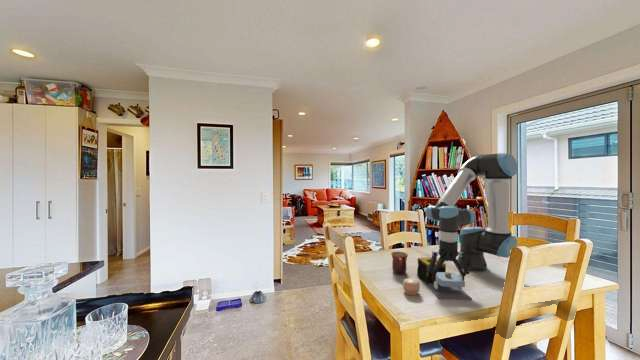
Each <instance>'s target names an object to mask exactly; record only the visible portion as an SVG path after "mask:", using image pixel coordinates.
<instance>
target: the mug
mask: <svg viewBox="0 0 640 360" xmlns="http://www.w3.org/2000/svg"><path fill="white" fill-rule="evenodd" d="M390 254H391V258H392V264H391V265H392V267H391V268H392V272H393V273H394V274H396V275H405V274H406V273H407V260H408V256H409V254H408V253H407V252H404V251H391V253H390Z"/></svg>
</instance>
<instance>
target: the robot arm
mask: <svg viewBox="0 0 640 360" xmlns="http://www.w3.org/2000/svg"><path fill="white" fill-rule="evenodd" d="M517 171H518V162H517V160H516V158H515V157H514V155H513V154H511V153H507V152H506V153H505V152H504V153H503V152H500V153H499V152H498V153H488V154H478V155H475V156H472V157H471V158H469V159H468V160H467V161H465V162H464V163H463V164H462V165H461V166H460V167H459V168H458V170H457V175H456V176H455V177H454V178H453V180H452V181H451V183H450V184H449V186H448V187H447V188H446V189H445V191H444V192H443V194H442V195H441V197H440V198H439V199H438V201H437V202H436V203H435V205H429V206H427V208H426V210H425V216H426V218H427V219H429V220H432V221H435V222H439V234H438V235H439V242H438V249H439V250H438V251H434V250H432V251H431V257H430V258H431V261H430V264H429V267H428V271H429V272H430V273H432V280H433V281H434V287H435V289H438V275H437V272H438V270H439V269H440V267H441V266H442V264H443V263H446V262H453V264H454V265H455V267H456V269H457V271H458V272H459V273H457V275H458V276H459V277H460V278H461V279H462V280H463V281H465V277H466V276H467V275H469V274H470V271H472V272H486V271H488V264H487V261H486V259H485V258H486V257H485V256H484V253H485V254H489V255H493V256H496V257H499V258H500V257H501V258H510V257H509V256H510V250H511V249H512V248H513V247H516V248H517V246H518V240H517V237H516V236H514V235H512V230H511V229H509V183H510V181H512V180H513V176H516V175H517V173H518V172H517ZM481 176H483V177H484V180H485V181H486V182H487V183H488V185H487V186H488V193H487V198H488V199H487V201H488V202H487V203H488V205H487V210H488V211H487V215H488V216H487V217H488V218H487V221H488V222H487V223H488V224H487V225H488V226H487V227H485V228H484V227H482V226H469V225H472V224H473V223H474V222H475V221H476V213H474V211H473V210H472V209H469V208H458V207H457V206H455V205H456V203H457V202H458V200H459V199H460V198H461V196H462V195H463V193H464V192H465V190H466V189H467V187H468V186H469V184H470V183H471V182H472V181H474V180H476V178H478V177H481ZM463 226H464V227H463ZM459 227H461V229H460V233H459V232H458V231H459ZM458 233H459V234H458ZM458 236H459V237H458ZM458 238H459V239H460V240H459V239H458ZM458 241H459V242H458ZM459 243H460V244H459ZM458 244H459V246H460V247H458ZM458 249H459V250H460V251H458ZM438 256H439V258H437V257H438ZM436 259H438V262H437V263H436V265H435V262H436ZM434 265H435V266H434ZM458 288H459V289H460V290H463V287H458Z"/></svg>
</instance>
